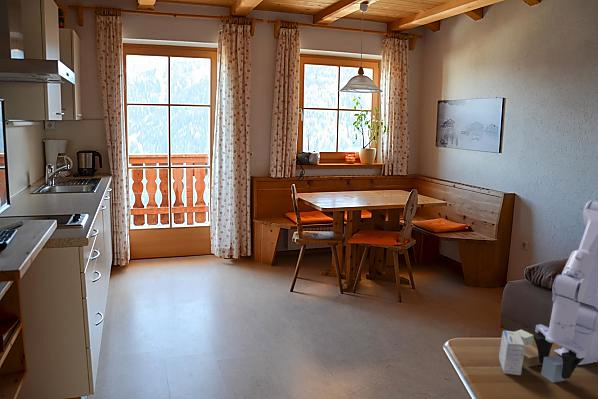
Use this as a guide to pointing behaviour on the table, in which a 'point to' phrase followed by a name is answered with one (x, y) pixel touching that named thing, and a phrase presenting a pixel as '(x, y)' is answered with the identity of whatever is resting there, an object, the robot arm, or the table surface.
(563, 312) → the robot arm
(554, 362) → the slate block
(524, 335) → the sage cube
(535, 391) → the table surface
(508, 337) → the medicine box
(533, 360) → the tan square block
